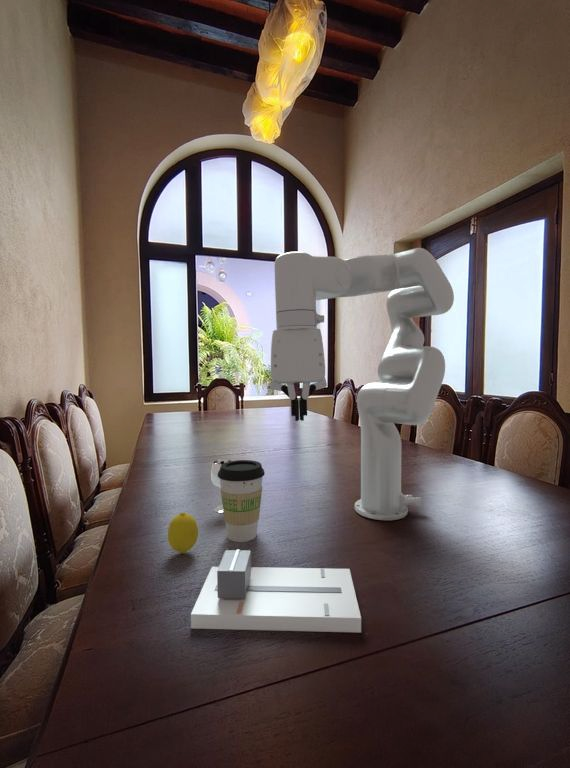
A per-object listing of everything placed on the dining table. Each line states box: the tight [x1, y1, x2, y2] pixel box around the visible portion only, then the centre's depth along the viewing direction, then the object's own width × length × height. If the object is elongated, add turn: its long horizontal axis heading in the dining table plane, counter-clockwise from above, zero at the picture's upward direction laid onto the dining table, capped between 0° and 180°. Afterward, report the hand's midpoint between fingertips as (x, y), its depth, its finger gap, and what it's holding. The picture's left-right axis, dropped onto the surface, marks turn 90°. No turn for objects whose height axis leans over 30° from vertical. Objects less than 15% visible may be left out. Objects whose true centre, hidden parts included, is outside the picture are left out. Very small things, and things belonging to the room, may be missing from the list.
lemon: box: [167, 511, 199, 555], centre depth 70 cm, size 6×6×8 cm
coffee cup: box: [218, 459, 265, 543], centre depth 78 cm, size 10×10×15 cm
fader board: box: [190, 566, 362, 633], centre depth 56 cm, size 23×12×2 cm, turn 88°
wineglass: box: [210, 459, 232, 514], centre depth 92 cm, size 6×6×12 cm
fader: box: [217, 548, 252, 599], centre depth 56 cm, size 4×6×4 cm, turn 178°
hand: (299, 419), depth 70 cm, fingers closed
